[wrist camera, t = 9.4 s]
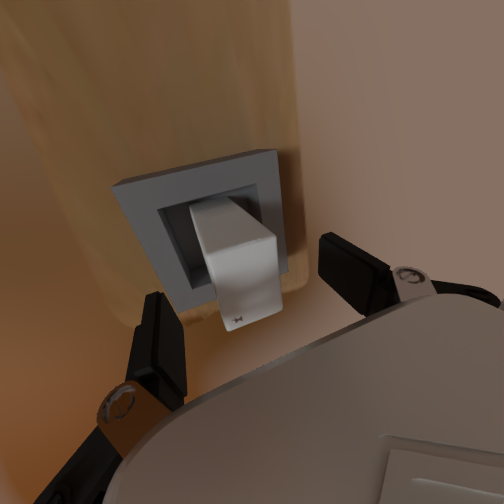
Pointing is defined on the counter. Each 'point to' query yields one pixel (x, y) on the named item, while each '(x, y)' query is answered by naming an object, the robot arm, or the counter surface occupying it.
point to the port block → (180, 220)
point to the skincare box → (238, 261)
